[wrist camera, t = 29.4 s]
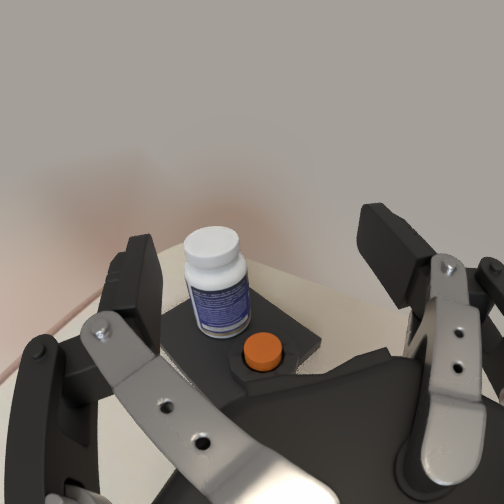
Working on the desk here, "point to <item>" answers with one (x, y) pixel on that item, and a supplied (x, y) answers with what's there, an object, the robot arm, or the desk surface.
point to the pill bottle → (217, 281)
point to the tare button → (263, 351)
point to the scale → (231, 348)
